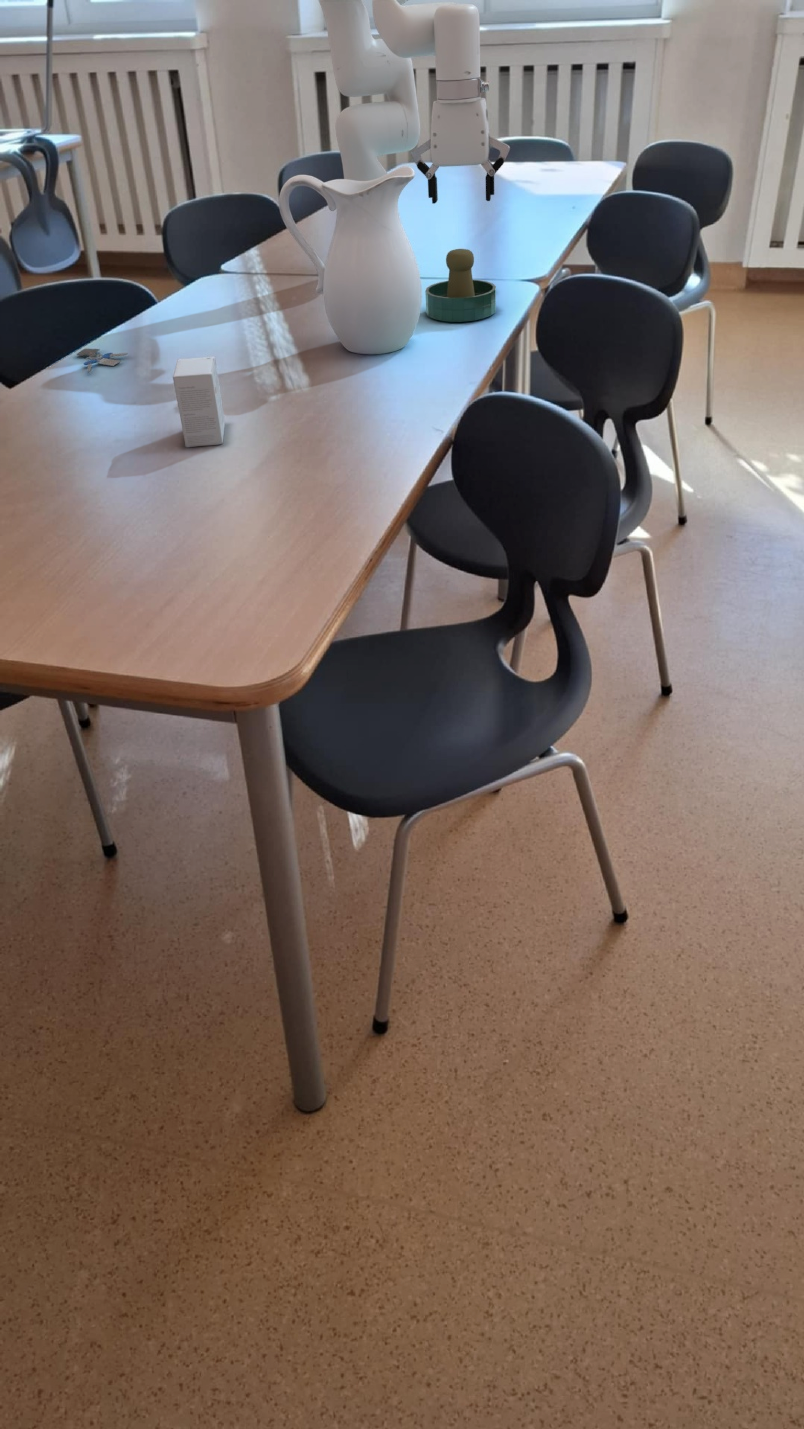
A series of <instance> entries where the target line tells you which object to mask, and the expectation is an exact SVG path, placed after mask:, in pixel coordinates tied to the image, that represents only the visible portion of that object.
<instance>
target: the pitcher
mask: <svg viewBox="0 0 804 1429" xmlns="http://www.w3.org/2000/svg"><path fill="white" fill-rule="evenodd" d="M415 177H416V171H415V170H414V168H413V167H411V166H409V165H404V166H400V167H398V168H395V169H394V170H391V171H390V172H387V174H386V175H384V176H382V177H380V178H377V179H374V180H370V181H355V180H347V179H344V178H336V179H331V180H328V181H325V182H324V181H322V180H321V179H319V178H317V177H315V176H312V175H309V174H297V175H293V176H292V177H290V178H289V179H287V180H286V181H285V183H284V184H283V186H282V187H281V190H280V191H279V196H278V207H279V213H280V216H281V219H282V221H283V223H284V225H285V227H286V229H287V230H288V232H289V234H291V236H292V237H293V239H294V240H295V241H296V243H297V244H298V245H299V246H300V248H302V250H303V251H304V252H305V254H306V255H307V257H308V258H309V259H310V261H311V262H312V264H313V266H314V267H315V269H316V272H317V276H318V279H317V284H316V288H315V291H314V292H315V293H316V294H319V293H323V302H324V303H323V304H324V309H325V313H326V317H327V319H328V322H329V324H330V326H331V329H332V331H333V332H334V334H335V336H336V337H337V339H338V340H339V342H340V343H341V345H342V346H343V348H344V349H346V350H347V351H348V352H350V353H354V354H359V355H360V354H361V355H383V354H389V353H393V352H396V351H399V350H401V349H403V348H405V347H406V346H407V345H408V343H409V342H410V341H411V338H412V337H413V334H414V332H415V331H416V327H417V326H418V323H419V319H420V316H421V315H420V314H421V310H422V302H423V300H422V298H423V288H422V287H423V286H422V279H421V274H420V268H419V264H418V262H417V259H416V255H415V252H414V250H413V248H412V245H411V243H410V240H409V236H408V235H407V233H406V230H405V228H404V226H403V223H402V220H401V217H400V212H399V198H400V196H401V194H402V192H403V191H404V189H405V188H406V186H407V185H408V184H409V183H410V182H411V181H412V180H413V179H414V178H415ZM297 187H309V189H313V190H314V191H316V192H317V193H318V194H319V195H320V196H322V197H323V198H324V200H325V201H326V204H327V207H328V210H329V211H330V212H334V211H336V218H335V226H334V229H333V233H332V237H331V239H330V240H331V241H330V243H329V248H328V252H327V254H326V259H325V263H324V262H323V261H322V259H321V258H320V257H319V255H318V254H317V253H316V251H315V249H314V248H313V247H312V246H311V244H310V243H309V242H308V241H307V239H306V238H305V236H304V235H303V233H302V232H301V230H300V229H299V227H298V226H297V224H296V222H295V220H294V218H293V215H292V212H291V208H290V197H291V193H292V192H293V191H294V189H296V188H297Z"/></svg>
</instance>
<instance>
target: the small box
mask: <svg viewBox="0 0 804 1429" xmlns="http://www.w3.org/2000/svg"><path fill="white" fill-rule="evenodd" d="M175 363H176V364H175V368H174V371H173V375H172V381H173V385H174V391H175V395H176V403H177V407H178V411H179V412H178V413H179V418H180V424H181V428H182V433H183V439H184V445H185V448H194V447H205V446H219V445H223V443H224V436H225V435H224V434H225V427H226V421H225V415H224V414H225V413H224V408H223V401H222V395H221V387H220V381H219V374H218V368H217V362H216V357H215V356H203V357H191V358H190V357H189V358H188V357H187V358H178V359H177V360H176V362H175Z"/></svg>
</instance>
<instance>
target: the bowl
mask: <svg viewBox="0 0 804 1429" xmlns="http://www.w3.org/2000/svg"><path fill="white" fill-rule="evenodd" d="M473 286H474V293H475V296H471V297H459V298H451V297H447V289H448V280H444V281H438V282H436V283H433V284H430V285H429V286H428V287H426V288H425V292H424V293H425V312H426V314H425V315H426V316H427V317H429V318H431V319H433V320H437V321H441V322H448V323H449V322H450V323H465V322H473V321H478V320H482V319H486V318H488V317H491V316H492V315H494V314H495V313H496V312H497V286H496V285H495V284H494V283H492V282H490V281H487V280H481V279H473Z"/></svg>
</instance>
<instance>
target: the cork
mask: <svg viewBox="0 0 804 1429" xmlns="http://www.w3.org/2000/svg"><path fill="white" fill-rule="evenodd" d="M445 263H446V266H447V269H448V279H447V281H448V289H447V297H451V298H459V297H471V296H475V293H474V286H473V280H474V279H473V273H472V268H473V267H474V263H475V256H474V253H473V251H472V250H470V249H467V248H454V249H452V250H450V251H448V252H447V254H446V257H445Z"/></svg>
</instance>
